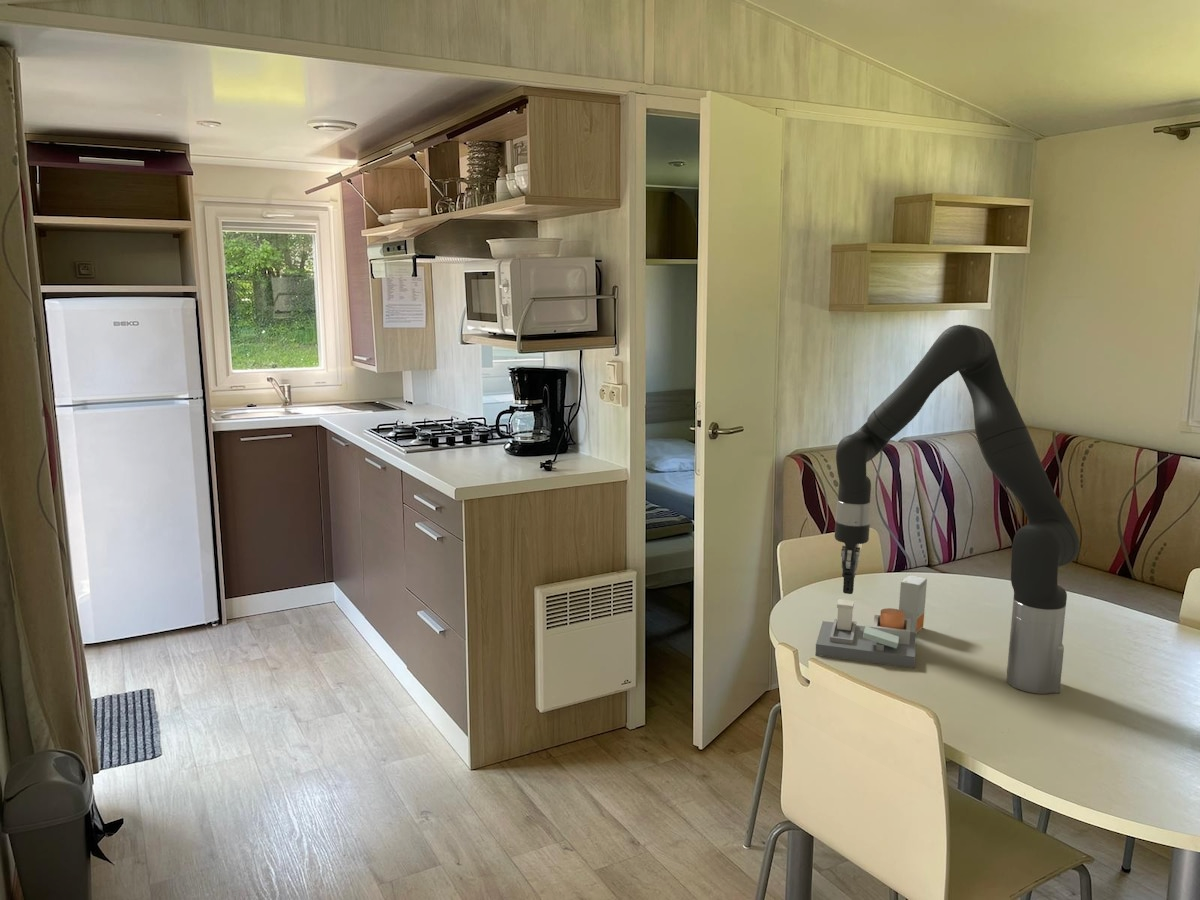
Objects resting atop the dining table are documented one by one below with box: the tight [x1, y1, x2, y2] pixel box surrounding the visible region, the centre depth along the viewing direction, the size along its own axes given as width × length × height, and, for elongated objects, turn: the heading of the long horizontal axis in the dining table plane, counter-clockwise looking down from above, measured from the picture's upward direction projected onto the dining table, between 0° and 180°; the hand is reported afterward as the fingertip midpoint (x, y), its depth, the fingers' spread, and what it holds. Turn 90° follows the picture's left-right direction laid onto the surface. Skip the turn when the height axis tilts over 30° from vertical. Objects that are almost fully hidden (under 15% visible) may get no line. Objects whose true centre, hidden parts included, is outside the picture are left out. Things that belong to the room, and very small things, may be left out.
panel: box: [815, 614, 917, 669], centre depth 194 cm, size 20×14×6 cm
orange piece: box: [880, 607, 905, 629], centre depth 194 cm, size 5×5×5 cm
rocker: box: [863, 625, 899, 649], centre depth 189 cm, size 7×4×1 cm, turn 71°
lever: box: [836, 598, 855, 631], centre depth 198 cm, size 3×3×6 cm
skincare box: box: [898, 575, 928, 634], centre depth 204 cm, size 6×4×12 cm
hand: (848, 592), depth 206 cm, fingers closed
